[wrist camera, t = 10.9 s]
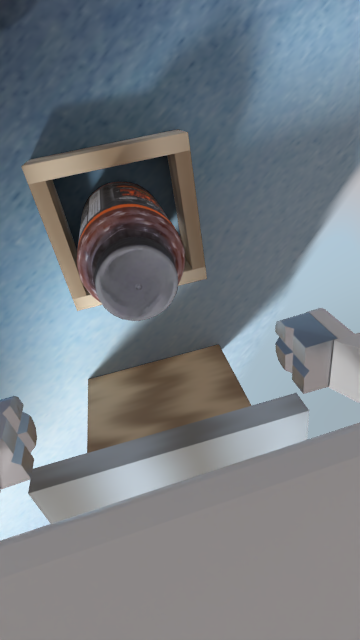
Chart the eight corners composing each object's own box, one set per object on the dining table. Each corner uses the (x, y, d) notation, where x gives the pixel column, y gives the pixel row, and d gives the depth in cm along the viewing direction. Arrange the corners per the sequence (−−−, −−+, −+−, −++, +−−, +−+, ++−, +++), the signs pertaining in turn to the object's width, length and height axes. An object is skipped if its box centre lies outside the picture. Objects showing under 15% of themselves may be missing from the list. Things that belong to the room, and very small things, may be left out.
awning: (91, 386, 33) (91, 578, 20) (58, 308, 28) (28, 493, 15) (219, 352, 34) (301, 509, 21) (209, 271, 29) (309, 410, 16)
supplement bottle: (174, 199, 26) (222, 253, 16) (143, 269, 28) (169, 351, 19) (96, 163, 23) (100, 202, 14) (69, 242, 26) (57, 321, 16)
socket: (78, 292, 28) (77, 310, 25) (29, 159, 22) (21, 166, 20) (196, 263, 29) (207, 278, 26) (177, 129, 23) (187, 132, 21)
